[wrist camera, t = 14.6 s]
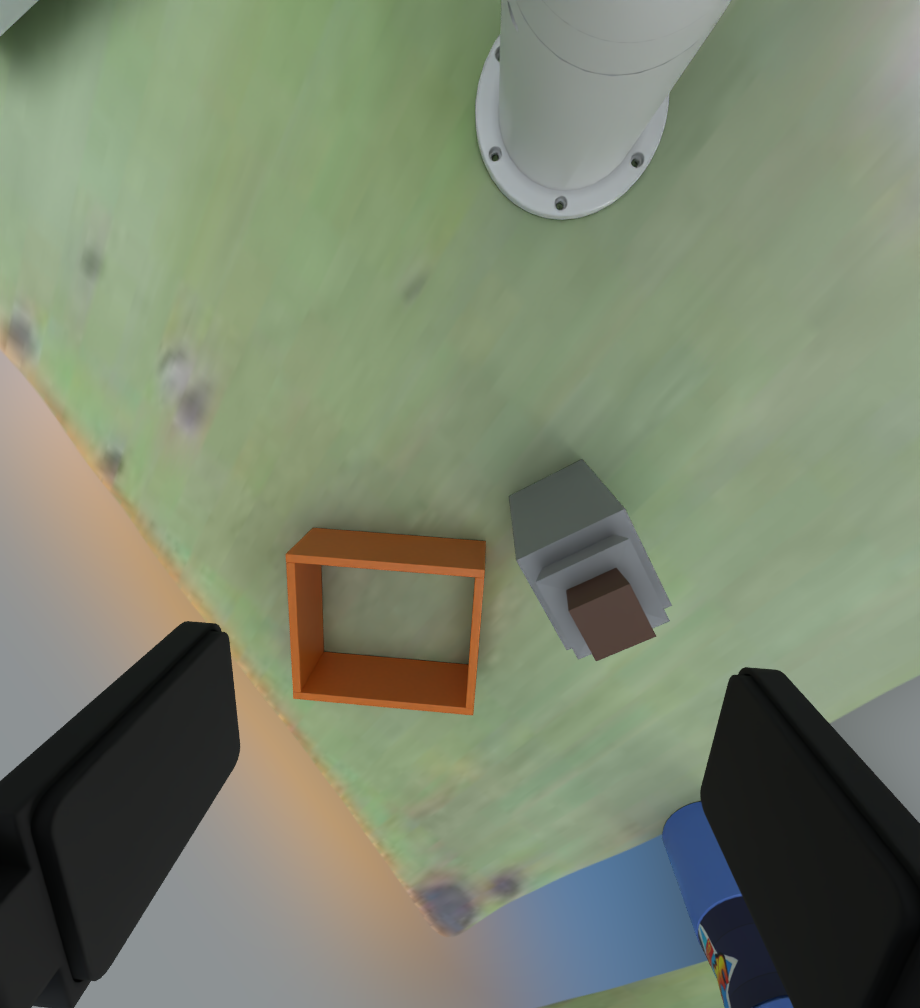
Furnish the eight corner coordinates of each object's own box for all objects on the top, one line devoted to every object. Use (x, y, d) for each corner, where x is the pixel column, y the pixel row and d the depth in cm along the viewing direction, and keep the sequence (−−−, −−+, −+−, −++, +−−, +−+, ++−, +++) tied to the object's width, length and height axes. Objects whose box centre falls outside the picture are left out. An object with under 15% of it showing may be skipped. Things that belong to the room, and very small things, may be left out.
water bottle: (749, 793, 49) (996, 1213, 25) (758, 861, 51) (989, 1302, 27) (654, 806, 50) (802, 1218, 26) (667, 872, 53) (813, 1303, 29)
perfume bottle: (544, 561, 43) (579, 699, 26) (508, 496, 41) (520, 597, 24) (616, 527, 41) (703, 650, 24) (582, 458, 40) (649, 537, 23)
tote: (312, 527, 43) (285, 553, 38) (485, 540, 43) (484, 570, 37) (317, 657, 47) (293, 698, 42) (475, 671, 47) (473, 715, 41)
